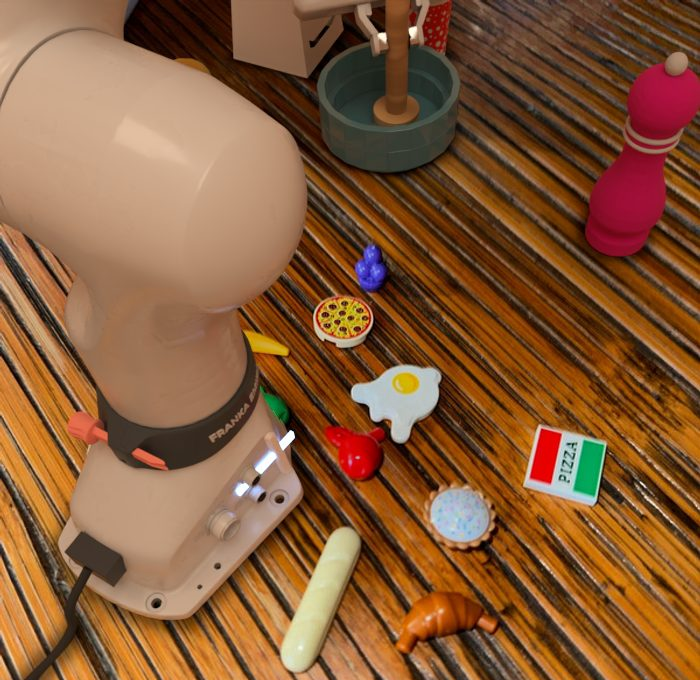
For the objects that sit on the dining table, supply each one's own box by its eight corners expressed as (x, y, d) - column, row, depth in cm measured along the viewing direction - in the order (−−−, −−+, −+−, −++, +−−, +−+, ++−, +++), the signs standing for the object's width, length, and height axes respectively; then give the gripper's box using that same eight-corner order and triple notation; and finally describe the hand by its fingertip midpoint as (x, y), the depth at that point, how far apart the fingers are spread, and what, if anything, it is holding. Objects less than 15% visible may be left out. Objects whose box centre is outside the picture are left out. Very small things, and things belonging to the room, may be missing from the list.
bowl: (418, 194, 84) (420, 148, 78) (297, 151, 88) (291, 105, 82) (477, 109, 90) (483, 62, 85) (361, 73, 94) (359, 26, 89)
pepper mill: (649, 265, 78) (727, 86, 60) (577, 256, 78) (633, 78, 61) (651, 214, 81) (725, 30, 63) (581, 206, 82) (635, 23, 64)
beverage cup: (398, 45, 96) (399, -77, 84) (446, 40, 96) (455, -83, 84) (405, 75, 93) (408, -46, 81) (454, 70, 93) (465, -52, 81)
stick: (406, 138, 85) (409, 3, 72) (365, 124, 86) (361, -11, 73) (426, 110, 87) (433, -26, 74) (386, 97, 89) (386, -39, 75)
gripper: (272, -99, 71) (303, 62, 75) (481, -136, 73) (501, 24, 77) (269, -72, 77) (299, 76, 81) (462, -106, 79) (482, 40, 83)
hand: (398, 51), depth 79 cm, fingers closed on stick, 2 cm apart
